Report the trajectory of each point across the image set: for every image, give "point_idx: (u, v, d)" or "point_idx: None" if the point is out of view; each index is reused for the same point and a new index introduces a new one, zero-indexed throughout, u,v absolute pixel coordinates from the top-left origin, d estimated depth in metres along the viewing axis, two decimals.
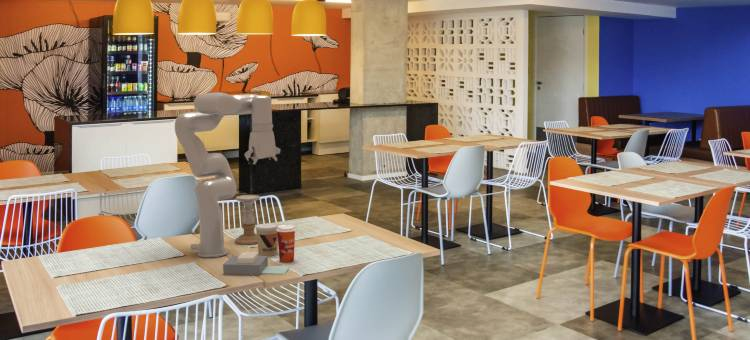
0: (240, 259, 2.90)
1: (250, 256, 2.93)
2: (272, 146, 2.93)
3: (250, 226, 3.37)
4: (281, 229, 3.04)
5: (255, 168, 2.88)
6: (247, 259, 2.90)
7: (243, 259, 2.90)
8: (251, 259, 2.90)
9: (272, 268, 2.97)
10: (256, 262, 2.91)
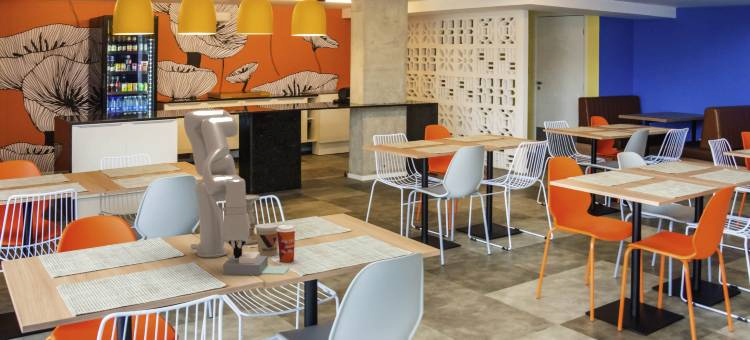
0: (241, 259, 2.90)
1: (251, 256, 2.93)
2: None
3: (250, 226, 3.37)
4: (281, 229, 3.04)
5: None
6: (248, 259, 2.90)
7: (244, 259, 2.90)
8: (253, 259, 2.90)
9: (272, 268, 2.97)
10: (256, 262, 2.91)
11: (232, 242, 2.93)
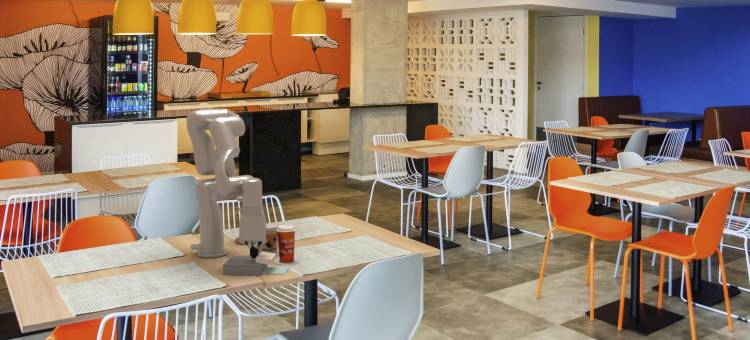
0: (258, 259, 2.90)
1: (268, 257, 2.92)
2: None
3: None
4: (281, 229, 3.04)
5: None
6: (265, 260, 2.90)
7: (261, 259, 2.90)
8: (269, 260, 2.90)
9: (272, 268, 2.97)
10: None
11: (248, 242, 2.92)
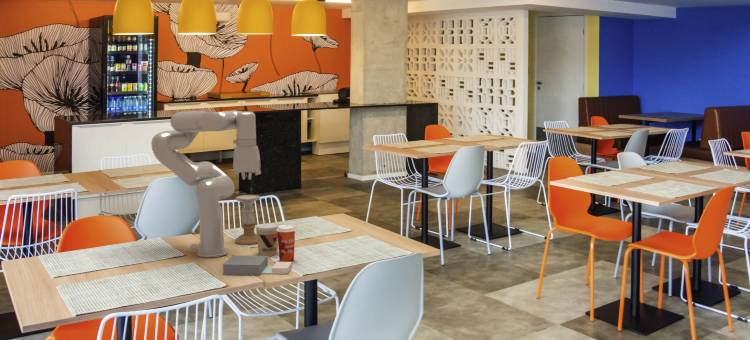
0: (284, 272, 2.90)
1: None
2: None
3: (250, 226, 3.37)
4: (281, 229, 3.04)
5: None
6: (277, 272, 2.90)
7: (281, 272, 2.90)
8: (273, 272, 2.90)
9: None
10: (256, 262, 2.91)
11: (242, 174, 3.04)
